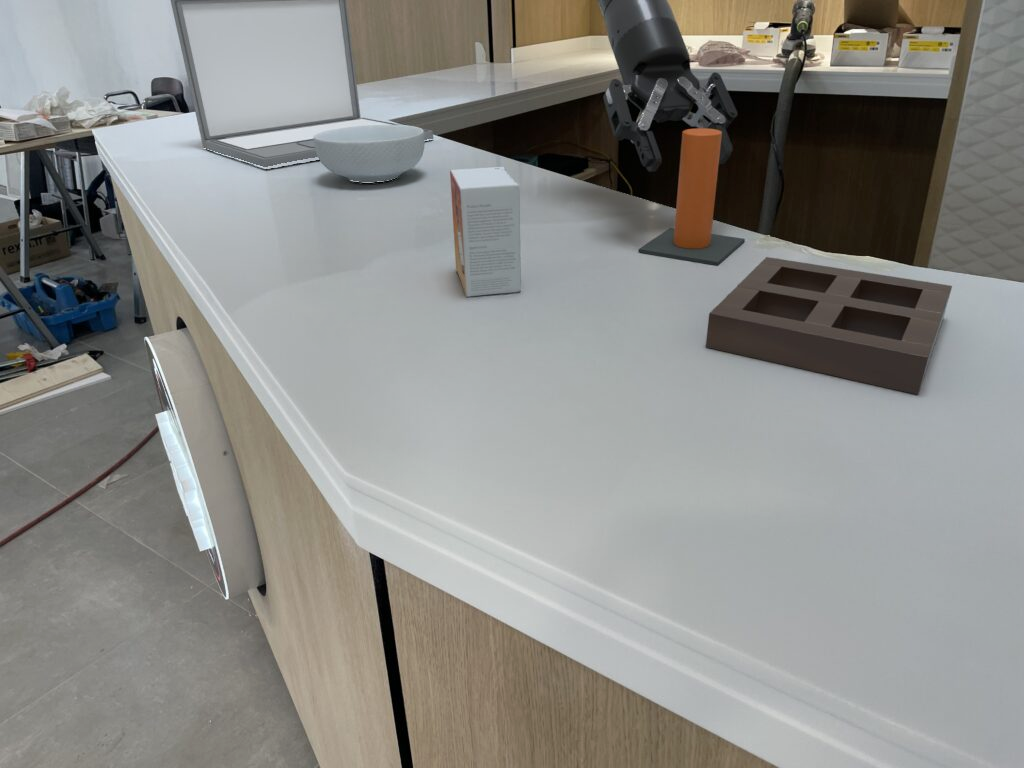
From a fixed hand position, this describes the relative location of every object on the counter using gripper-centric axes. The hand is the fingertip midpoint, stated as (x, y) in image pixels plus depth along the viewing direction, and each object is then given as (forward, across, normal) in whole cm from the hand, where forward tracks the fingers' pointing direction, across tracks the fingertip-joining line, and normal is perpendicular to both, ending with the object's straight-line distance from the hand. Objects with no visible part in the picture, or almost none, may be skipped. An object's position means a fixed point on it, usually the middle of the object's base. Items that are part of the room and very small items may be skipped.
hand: (690, 163), depth 79 cm
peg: (+7, 0, +5) cm, 9 cm away
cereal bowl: (-28, -26, +41) cm, 56 cm away
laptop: (-51, -31, +65) cm, 88 cm away
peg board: (+24, -2, -12) cm, 27 cm away
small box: (+8, -24, +5) cm, 26 cm away
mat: (+7, 0, +5) cm, 9 cm away
